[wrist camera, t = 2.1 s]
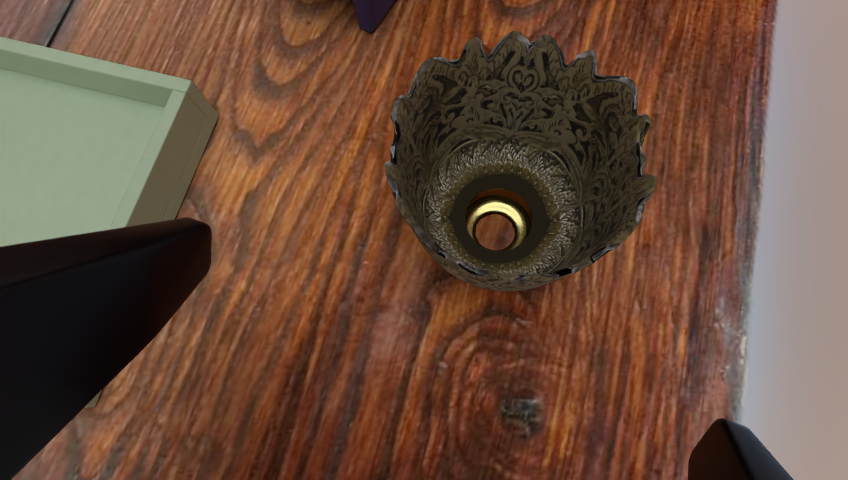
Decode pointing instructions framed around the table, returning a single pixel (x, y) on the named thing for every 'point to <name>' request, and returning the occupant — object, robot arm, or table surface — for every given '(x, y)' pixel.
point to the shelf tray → (92, 144)
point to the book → (371, 12)
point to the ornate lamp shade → (519, 160)
